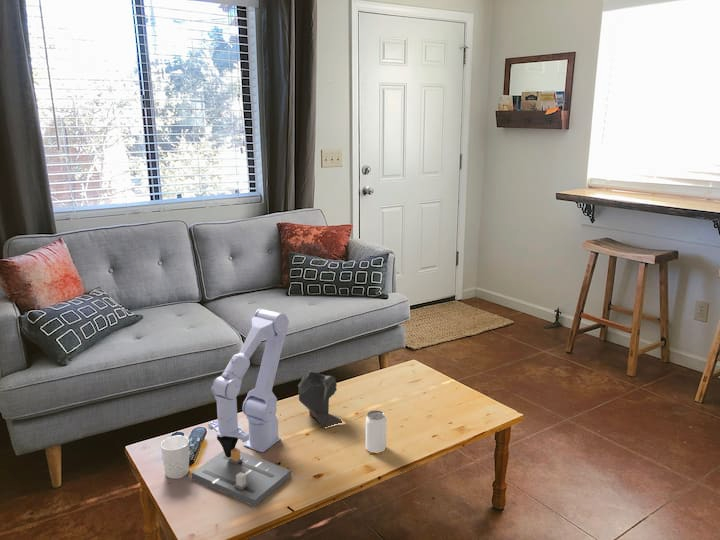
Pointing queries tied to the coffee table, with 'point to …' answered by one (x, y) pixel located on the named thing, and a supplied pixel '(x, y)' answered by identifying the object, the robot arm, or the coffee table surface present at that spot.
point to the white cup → (175, 456)
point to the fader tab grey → (241, 481)
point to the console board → (257, 472)
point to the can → (375, 431)
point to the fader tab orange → (235, 456)
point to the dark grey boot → (318, 396)
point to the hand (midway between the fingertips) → (229, 455)
